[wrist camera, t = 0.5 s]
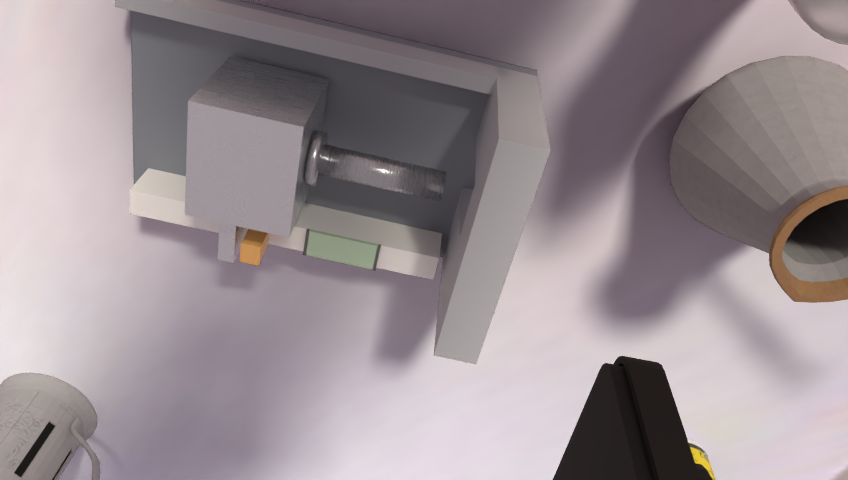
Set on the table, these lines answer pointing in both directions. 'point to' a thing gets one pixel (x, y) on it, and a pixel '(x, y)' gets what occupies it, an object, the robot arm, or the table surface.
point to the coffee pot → (773, 168)
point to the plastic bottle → (825, 17)
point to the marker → (253, 247)
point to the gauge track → (360, 144)
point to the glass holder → (42, 427)
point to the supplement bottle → (700, 456)
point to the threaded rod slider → (273, 153)
